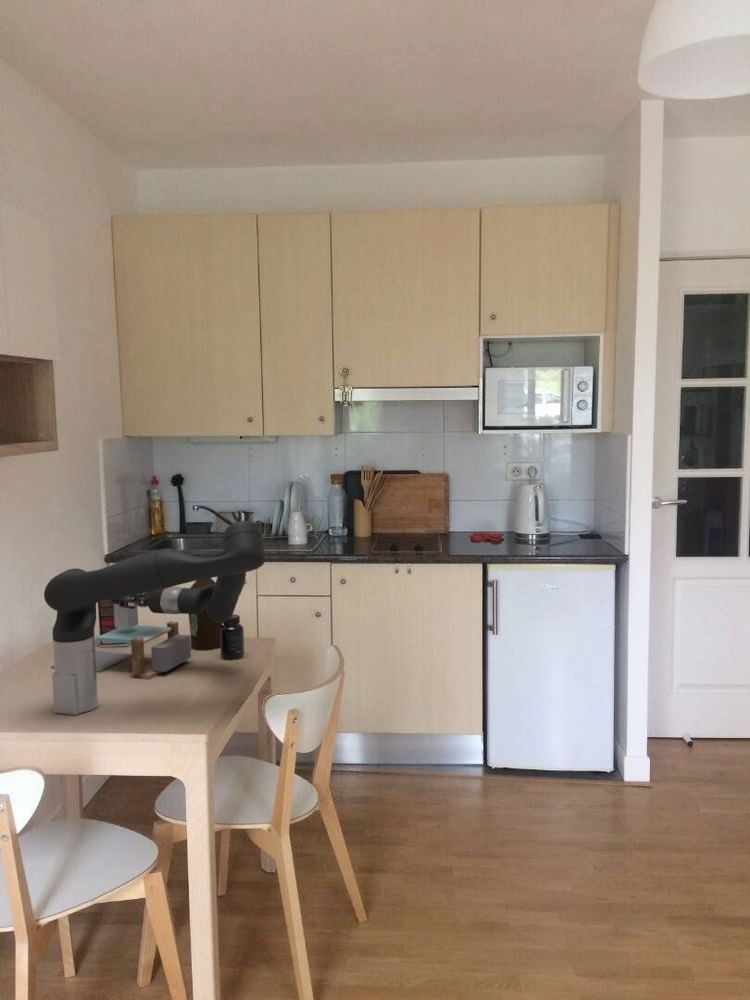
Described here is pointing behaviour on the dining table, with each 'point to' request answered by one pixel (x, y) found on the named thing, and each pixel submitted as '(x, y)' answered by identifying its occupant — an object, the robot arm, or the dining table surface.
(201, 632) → the olive oil
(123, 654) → the mat
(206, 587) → the robot arm
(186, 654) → the teal topped platform
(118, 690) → the dining table surface
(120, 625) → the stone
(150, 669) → the stand
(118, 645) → the supplement box
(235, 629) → the supplement bottle
